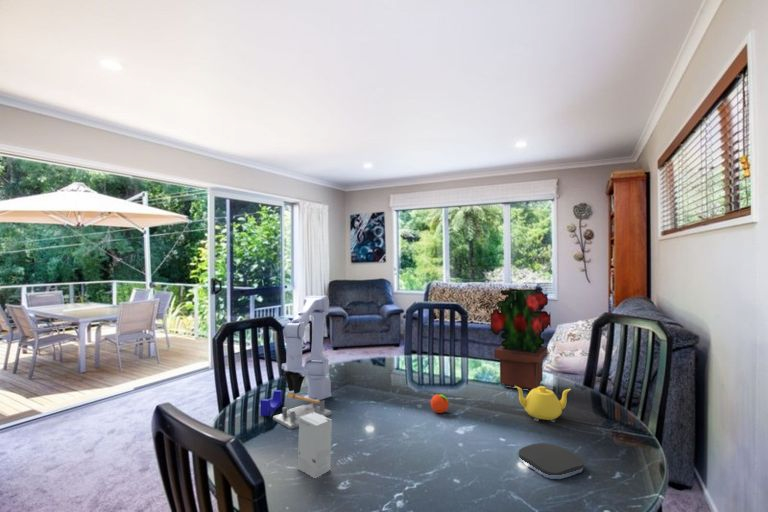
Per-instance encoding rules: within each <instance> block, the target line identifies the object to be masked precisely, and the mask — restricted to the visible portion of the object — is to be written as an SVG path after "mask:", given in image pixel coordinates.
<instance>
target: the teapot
mask: <svg viewBox="0 0 768 512" xmlns="http://www.w3.org/2000/svg"><path fill="white" fill-rule="evenodd" d="M515 387H516V388H517V389H516V390H517V391H518V399H519V400H518V401H519V403H520V404H521V405H522V407H524V410H525V412H526V413H527V414H528V415H529V416H530V417H532V418H534V417H535V418H539V419H540V420H547V421H549V420H552V419H555V420H556V419H557V418H559V417H560V416H561V415H562V413H563V412H562V411H563V409H565V408H566V405H567V399H568V398H567V395H568V393H569V392H570V391H571V390H572V389H571V388H567V389H564V390H563V392H562V395H561V399H560V400H559V398H558V397H557V395H556V394H555V392H554V391H553V390H551V389H547V387H546V386H543V385H539V386H538V387H537V388H534V389H532V390H531V391H528V394H527V395H526V397H524V392H523V390H522V389H521V388H520V387H517V386H515Z"/></svg>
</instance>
